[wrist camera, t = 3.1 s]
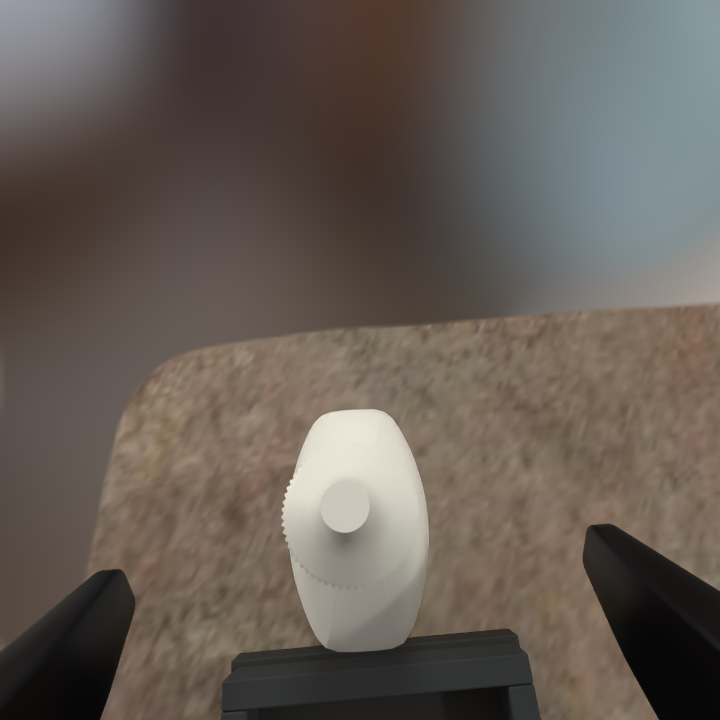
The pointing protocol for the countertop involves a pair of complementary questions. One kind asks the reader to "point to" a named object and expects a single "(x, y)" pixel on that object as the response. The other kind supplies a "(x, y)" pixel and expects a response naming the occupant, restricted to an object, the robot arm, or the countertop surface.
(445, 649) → the dock pad
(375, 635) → the eye dropper bottle
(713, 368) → the countertop surface
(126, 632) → the robot arm
